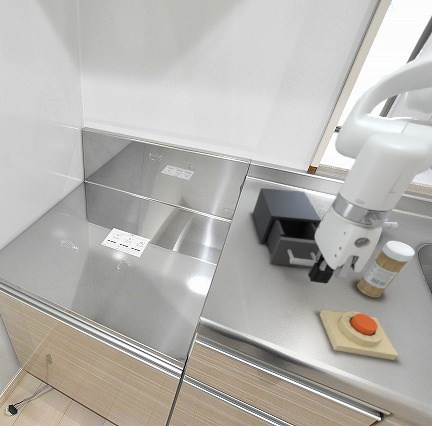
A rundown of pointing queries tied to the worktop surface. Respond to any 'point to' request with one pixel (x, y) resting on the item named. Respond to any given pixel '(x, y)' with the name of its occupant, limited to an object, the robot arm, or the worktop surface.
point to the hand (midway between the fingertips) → (317, 279)
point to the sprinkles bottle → (385, 268)
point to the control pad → (356, 336)
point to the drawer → (292, 243)
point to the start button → (363, 324)
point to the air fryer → (282, 209)
